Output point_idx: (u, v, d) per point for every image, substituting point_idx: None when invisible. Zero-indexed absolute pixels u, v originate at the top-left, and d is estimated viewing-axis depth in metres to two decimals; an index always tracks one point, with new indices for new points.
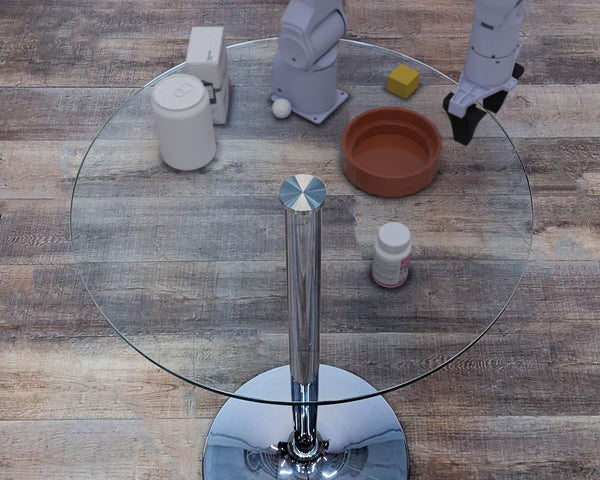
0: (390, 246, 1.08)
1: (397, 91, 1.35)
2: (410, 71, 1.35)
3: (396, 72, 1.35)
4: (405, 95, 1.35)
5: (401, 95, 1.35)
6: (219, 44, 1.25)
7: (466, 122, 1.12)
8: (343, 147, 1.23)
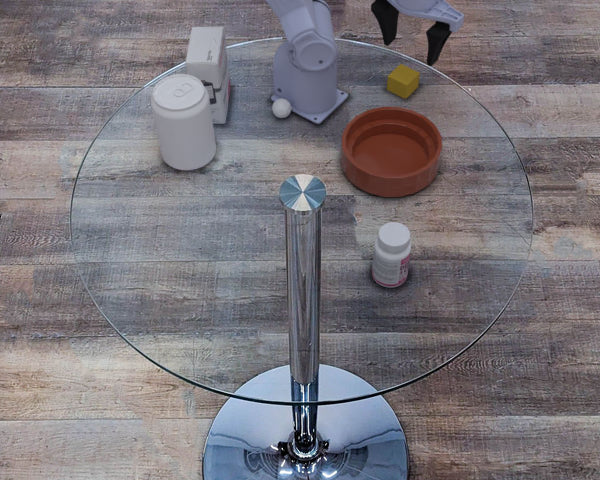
0: (390, 246, 1.08)
1: (397, 91, 1.35)
2: (410, 71, 1.35)
3: (396, 72, 1.35)
4: (405, 95, 1.35)
5: (401, 95, 1.35)
6: (219, 44, 1.25)
7: None
8: (343, 147, 1.23)
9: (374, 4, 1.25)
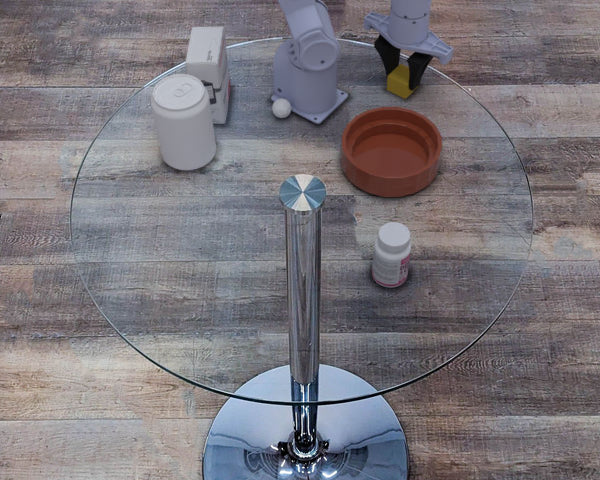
0: (390, 246, 1.08)
1: (397, 91, 1.35)
2: None
3: (396, 72, 1.35)
4: (405, 95, 1.35)
5: (401, 95, 1.35)
6: (219, 44, 1.25)
7: None
8: (343, 147, 1.23)
9: (377, 42, 1.30)
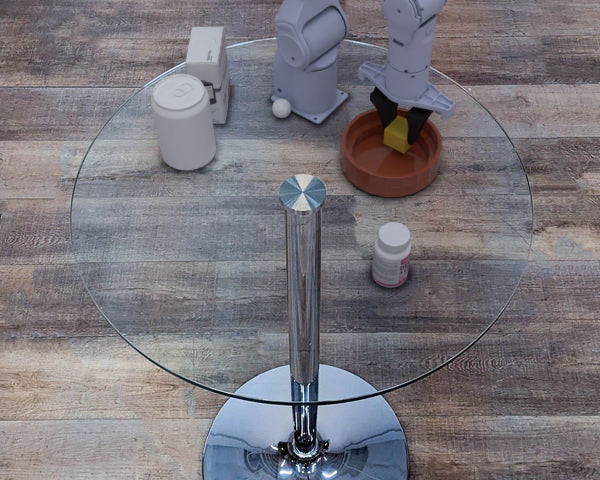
0: (390, 246, 1.08)
1: (395, 145, 1.25)
2: None
3: (394, 125, 1.25)
4: (403, 150, 1.25)
5: (399, 149, 1.25)
6: (219, 44, 1.25)
7: None
8: (343, 147, 1.23)
9: (373, 94, 1.20)
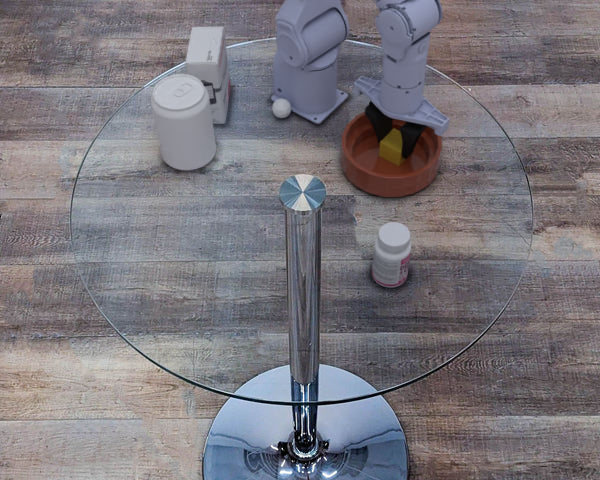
0: (390, 246, 1.08)
1: (390, 158, 1.26)
2: None
3: (389, 138, 1.26)
4: (398, 162, 1.26)
5: (394, 162, 1.26)
6: (219, 44, 1.25)
7: None
8: (343, 147, 1.23)
9: (368, 108, 1.21)
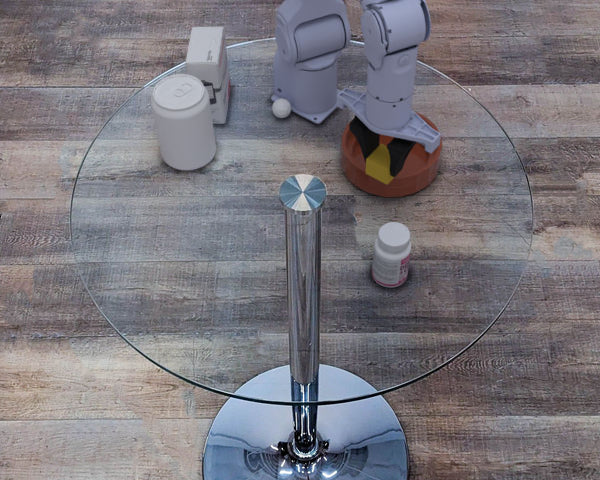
0: (390, 246, 1.08)
1: (377, 176, 1.17)
2: None
3: (376, 154, 1.16)
4: (387, 181, 1.16)
5: (382, 180, 1.17)
6: (219, 44, 1.25)
7: None
8: (343, 147, 1.23)
9: (353, 123, 1.12)
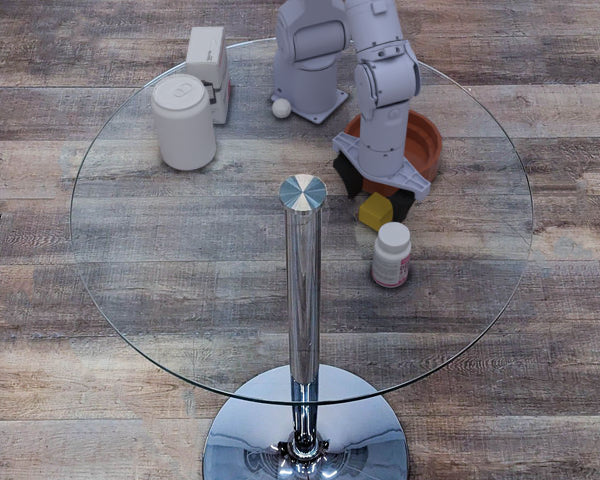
0: (390, 246, 1.08)
1: (370, 223, 1.20)
2: (385, 202, 1.19)
3: (369, 202, 1.19)
4: (378, 228, 1.19)
5: (374, 227, 1.20)
6: (219, 44, 1.25)
7: None
8: None
9: (337, 161, 1.15)
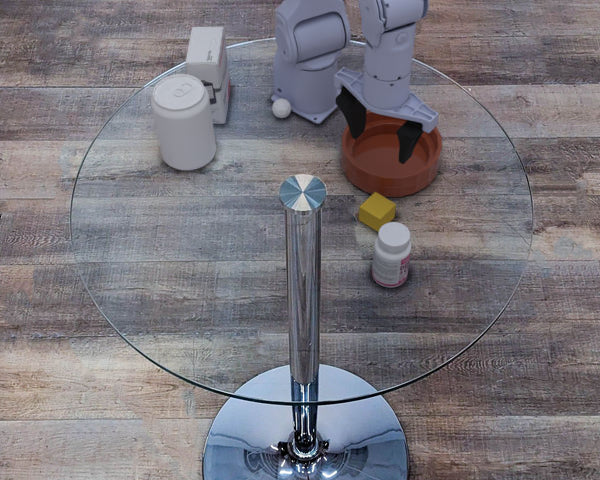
0: (390, 246, 1.08)
1: (370, 223, 1.20)
2: (385, 202, 1.19)
3: (369, 202, 1.19)
4: (378, 228, 1.19)
5: (374, 227, 1.20)
6: (219, 44, 1.25)
7: None
8: (343, 147, 1.23)
9: (339, 98, 1.12)
